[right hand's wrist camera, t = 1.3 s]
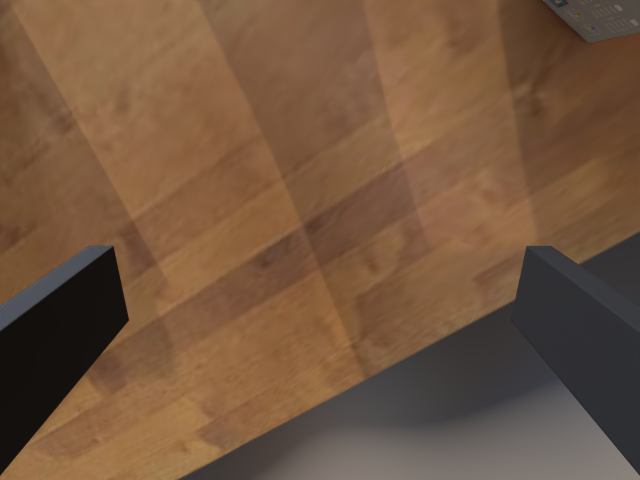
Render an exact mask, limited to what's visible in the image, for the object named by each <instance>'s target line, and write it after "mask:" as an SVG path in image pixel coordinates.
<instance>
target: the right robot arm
mask: <svg viewBox="0 0 640 480" xmlns="http://www.w3.org/2000/svg"><path fill="white" fill-rule="evenodd" d="M128 321H129V318H128V313H127V309H126V304H125V299H124V294H123V290H122V285H121V280H120V275H119V270H118V266H117V261H116V256H115V251H114V247H113V246H88V247H87V248H85V249H84V250H82V251H81V252H79V253H78V254H77V255H75V256H74V257H72V258H71V259H69V260H68V261H66V262H65V263H63V264H62V265H60V266H59V267H57V268H56V269H54V270H53V271H51V272H50V273H48V274H47V275H45V276H44V277H43V278H41V279H40V280H38V281H37V282H35V283H34V284H32V285H31V286H29V287H28V288H26V289H25V290H23V291H22V292H20V293H19V294H17V295H16V296H14V297H13V298H11V299H10V300H8V301H7V302H6V303H4V304H3V305H1V306H0V475H1V474H2V473H3V472H4V470H5V469H6V468H7V467H8V466H9V464H10V463H11V462H12V461H13V459H14V458H15V457H16V456H17V455H18V453H19V452H20V451H21V450H22V449H23V447H24V446H25V445H26V444H27V443H28V441H29V440H30V439H31V438H32V437H33V435H34V434H35V433H36V432H37V431H38V429H39V428H40V427H41V426H42V425H43V423H44V422H45V421H46V420H47V418H48V417H49V416H50V415H51V414H52V412H53V411H54V410H55V409H56V408H57V406H58V405H59V404H60V403H61V402H62V400H63V399H64V398H65V397H66V396H67V394H68V393H69V392H70V391H71V390H72V388H73V387H74V386H75V385H76V384H77V382H78V381H79V380H80V379H81V377H82V376H83V375H84V374H85V373H86V371H87V370H88V369H89V368H90V367H91V365H92V364H93V363H94V362H95V361H96V359H97V358H98V357H99V356H100V355H101V353H102V352H103V351H104V350H105V349H106V347H107V346H108V345H109V344H110V343H111V341H112V340H113V339H114V338H115V336H116V335H117V334H118V333H119V332H120V330H121V329H122V328H123V327H124V326H125V324H126V323H127V322H128ZM511 321H512V322H513V323H514V324H515V326H516V327H517V328H518V329H519V330H520V332H521V333H522V334H523V335H524V337H525V338H526V339H527V340H528V341H529V342H530V344H531V345H532V346H533V347H534V349H535V350H536V351H537V352H538V353H539V354H540V356H541V357H542V358H543V359H544V361H545V362H546V363H547V364H548V365H549V367H550V368H551V369H552V370H553V371H554V372H555V374H556V375H557V376H558V377H559V379H560V380H561V381H562V382H563V384H564V385H565V386H566V387H567V388H568V390H569V391H570V392H571V393H572V394H573V396H574V397H575V398H576V399H577V400H578V402H579V403H580V404H581V405H582V406H583V408H584V409H585V410H586V411H587V412H588V414H589V415H590V416H591V417H592V418H593V420H594V421H595V422H596V423H597V425H598V426H599V427H600V428H601V429H602V431H603V432H604V433H605V434H606V435H607V437H608V438H609V439H610V440H611V441H612V443H613V444H614V445H615V446H616V447H617V449H618V450H619V451H620V452H621V453H622V455H623V456H624V457H625V458H626V459H627V461H628V462H629V463H630V464H631V466H632V467H633V468H634V469H635V470H636V472H637V473H638V474H639V475H640V306H639V305H637V304H636V303H634V302H633V301H632V300H630V299H629V298H627V297H626V296H624V295H623V294H621V293H620V292H618V291H617V290H615V289H614V288H612V287H611V286H609V285H608V284H606V283H605V282H603V281H602V280H600V279H599V278H597V277H596V276H595V275H593V274H592V273H590V272H589V271H587V270H586V269H584V268H583V267H581V266H580V265H578V264H577V263H575V262H574V261H572V260H571V259H569V258H568V257H566V256H565V255H563V254H562V253H560V252H559V251H558V250H556V249H555V248H553V247H552V246H527V247H526V251H525V256H524V261H523V266H522V270H521V275H520V280H519V285H518V289H517V294H516V299H515V304H514V309H513V313H512V318H511Z"/></svg>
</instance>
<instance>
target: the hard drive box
mask: <svg viewBox="0 0 640 480" xmlns="http://www.w3.org/2000/svg"><path fill="white" fill-rule="evenodd" d="M542 1H543V2H544V3H546V4H547V5H548V6H549V7H550V8H551V9H552V10H553V11H554V12H555V13H556V14H557V15H558V16H560V17H561V18H562V19H563V20H564V21H565V22H566V23H567V24H568V25H569V26H570V27H571V28H572V29H574V30H575V31H576V32H577V33H578V34H579V35H580V36H581V37H582V38H583V39H584V40H586V41H587V42H588V43H593V42H598V41H603V40H607V39H612V38H617V37H622V36H626V35H631V34H636V33H640V0H542Z"/></svg>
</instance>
